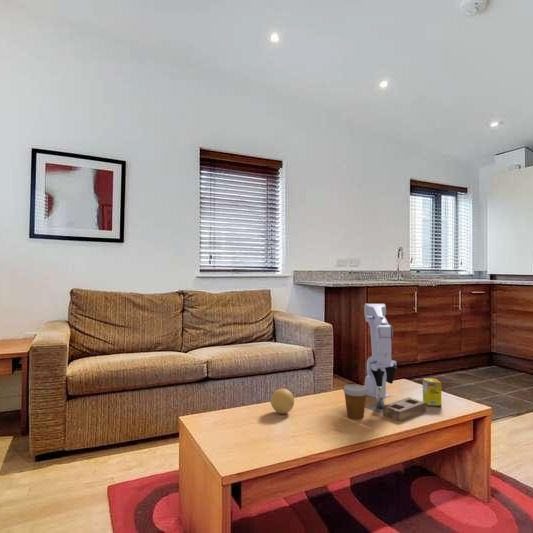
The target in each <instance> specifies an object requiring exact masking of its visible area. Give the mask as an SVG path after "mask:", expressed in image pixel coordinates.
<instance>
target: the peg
mask: <svg viewBox="0 0 533 533" xmlns="http://www.w3.org/2000/svg"><path fill="white" fill-rule="evenodd" d="M375 399H376V402H375V404H376V405H377V408H378V409H383V406H384V404H385V403H384V401H385V400H384V399H385V398H384V387H383V386H382V387H379V386H376V398H375Z"/></svg>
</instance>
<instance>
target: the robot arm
mask: <svg viewBox="0 0 533 533" xmlns="http://www.w3.org/2000/svg"><path fill="white" fill-rule="evenodd" d="M363 310H364V319H365V322H366V323H368V326H369V328H370V342H371V343H370V344H371V345H370V346H371V356H370V357H369V358H367V360H366V374H367V375H366V376H365V379H364V387H366V390H367V394H366V396H369V397H372V398H375V399H376V386H379V387H382V386H383V387H384V399H385V398H388V397H390V394H388V393H387V383H388V384H391V385H392V384H393V382H394V378H395V375H396V373H397V372H398V370H399V367H398V366H397V361H396V360H392V339H393V337H394V330H393V326H392V324H389V322H388V320H387V318H386V314H387V307H386V304H385V303H365V304H364V305H363Z"/></svg>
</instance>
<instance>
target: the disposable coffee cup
mask: <svg viewBox="0 0 533 533" xmlns="http://www.w3.org/2000/svg"><path fill="white" fill-rule="evenodd" d="M343 393H344V399H345V408H346V416H347V417H348V418H349V419H351V420H363V418H364V417H365V416H364V415H365V409H366V408H365V407H366V397H367V395H366V394H367V390H366V387H365V385H361V384H353V383H352V384H350V383H349V384H345V385H344V388H343Z"/></svg>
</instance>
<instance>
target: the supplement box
mask: <svg viewBox="0 0 533 533" xmlns="http://www.w3.org/2000/svg"><path fill="white" fill-rule="evenodd" d="M422 401H423V402H426V407H431V408H434V407H435V408H442V382H441V381H439V379H437V378H422Z"/></svg>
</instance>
